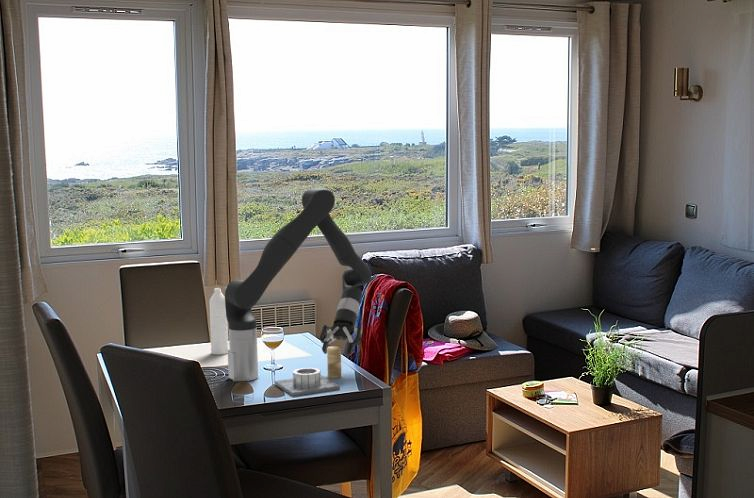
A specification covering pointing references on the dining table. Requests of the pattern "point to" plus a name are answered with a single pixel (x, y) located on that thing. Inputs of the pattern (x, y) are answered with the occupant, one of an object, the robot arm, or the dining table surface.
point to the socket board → (306, 382)
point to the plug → (334, 362)
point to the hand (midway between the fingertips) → (336, 353)
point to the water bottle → (218, 323)
